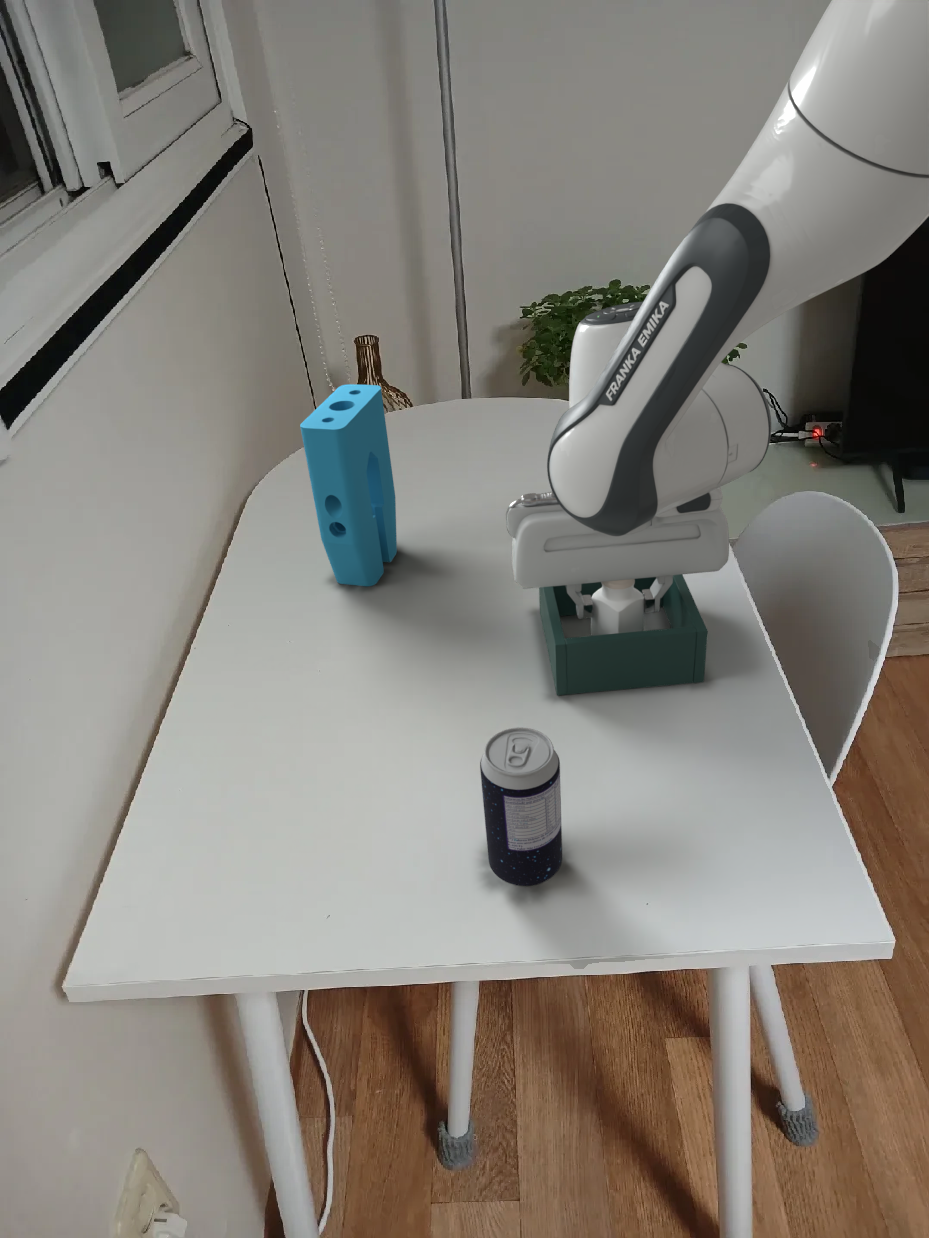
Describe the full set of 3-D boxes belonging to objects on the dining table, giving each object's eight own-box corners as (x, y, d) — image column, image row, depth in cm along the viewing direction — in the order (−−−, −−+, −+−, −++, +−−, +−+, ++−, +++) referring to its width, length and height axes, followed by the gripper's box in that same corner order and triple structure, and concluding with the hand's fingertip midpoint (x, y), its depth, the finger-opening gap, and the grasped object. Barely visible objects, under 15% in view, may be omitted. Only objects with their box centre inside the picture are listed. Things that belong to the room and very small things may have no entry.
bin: (670, 601, 102) (672, 552, 98) (703, 682, 90) (708, 631, 87) (539, 613, 102) (537, 565, 98) (556, 695, 90) (555, 645, 87)
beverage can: (568, 842, 75) (566, 728, 69) (554, 900, 71) (550, 783, 64) (499, 831, 77) (490, 718, 70) (481, 886, 72) (469, 772, 66)
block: (366, 538, 118) (341, 384, 107) (404, 542, 117) (383, 385, 105) (327, 591, 109) (296, 427, 97) (368, 595, 107) (341, 430, 96)
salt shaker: (588, 645, 96) (588, 565, 91) (615, 629, 98) (617, 550, 93) (617, 662, 94) (619, 581, 88) (645, 645, 96) (648, 564, 90)
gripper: (507, 513, 83) (515, 640, 91) (740, 491, 83) (728, 620, 91) (502, 480, 88) (509, 604, 96) (721, 460, 88) (711, 585, 96)
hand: (617, 612), depth 94 cm, fingers closed on salt shaker, 5 cm apart
